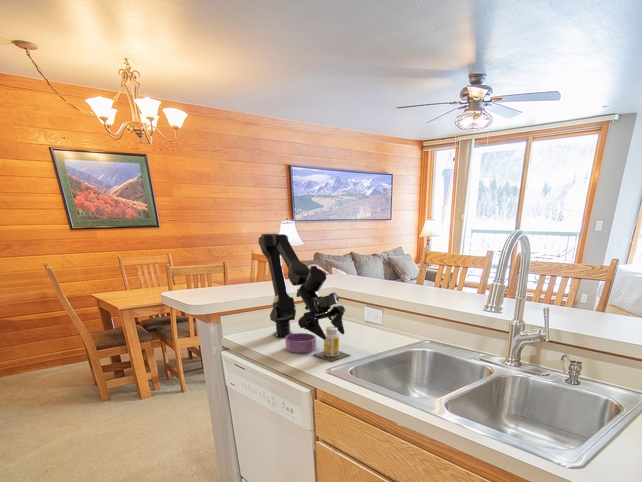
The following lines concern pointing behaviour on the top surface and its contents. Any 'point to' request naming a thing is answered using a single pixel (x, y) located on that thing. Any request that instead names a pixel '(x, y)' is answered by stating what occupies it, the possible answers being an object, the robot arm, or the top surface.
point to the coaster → (339, 356)
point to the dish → (300, 342)
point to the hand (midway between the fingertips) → (334, 336)
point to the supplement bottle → (331, 342)
